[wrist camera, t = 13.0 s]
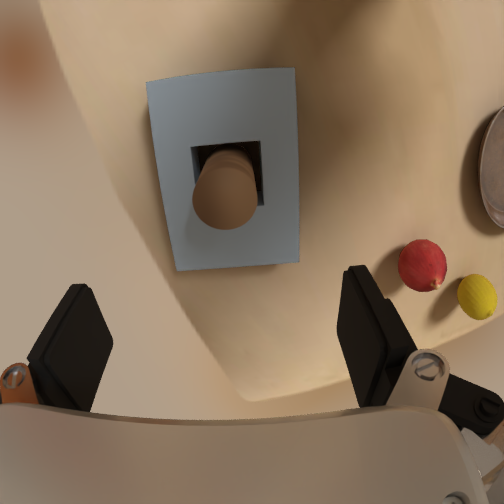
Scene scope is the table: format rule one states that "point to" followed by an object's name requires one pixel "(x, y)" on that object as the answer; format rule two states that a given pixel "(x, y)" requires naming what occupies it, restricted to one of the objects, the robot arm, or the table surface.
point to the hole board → (228, 131)
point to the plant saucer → (493, 168)
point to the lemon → (477, 297)
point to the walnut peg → (226, 188)
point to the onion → (422, 265)
